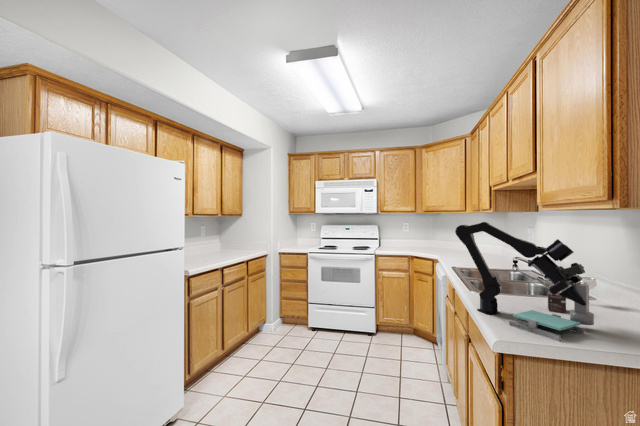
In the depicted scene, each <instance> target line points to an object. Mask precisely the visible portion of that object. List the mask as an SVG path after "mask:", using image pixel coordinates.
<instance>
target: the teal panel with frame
mask: <svg viewBox="0 0 640 426" xmlns="http://www.w3.org/2000/svg"><path fill="white" fill-rule="evenodd" d="M551 315H553V316H557V317H560V318H562V316H561V315H558V314H554V313H552V314H551ZM508 325H509V326H512V327H515V328H518V329H521V330H523V331H526V332H530V333H533V334H536V335H538V336H542V337H546V338H548V339H551V340H554V341H558V342H561V340H562V335H561V334H558V333H554V332H552V331H549V330H546V329H541V328H539V327H538V326H539V324H538V321H534V320H531V319H530V320H529V321H528V324H526V323H524V322H520V321H516V320H514V319H509V320H508ZM565 330H567V331H571V332H572V333H573V332H574V333H576V334H581V335H584V334H585V328H584V327H579V326H575V327H571V328H567V329H565Z"/></svg>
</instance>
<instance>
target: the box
mask: <svg viewBox="0 0 640 426" xmlns="http://www.w3.org/2000/svg"><path fill="white" fill-rule="evenodd" d="M560 293H561V292H558V293H557V294H556V295H553V294H552V293H551V292H550V291H547V309H548V311H549V312H553V313H561V314H563V313H564V314H566V313H567V298H566V297H563V296H561V295H558V294H560Z"/></svg>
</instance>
